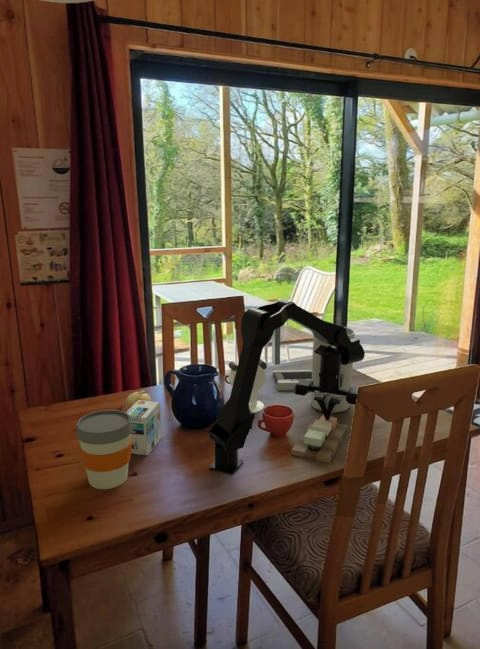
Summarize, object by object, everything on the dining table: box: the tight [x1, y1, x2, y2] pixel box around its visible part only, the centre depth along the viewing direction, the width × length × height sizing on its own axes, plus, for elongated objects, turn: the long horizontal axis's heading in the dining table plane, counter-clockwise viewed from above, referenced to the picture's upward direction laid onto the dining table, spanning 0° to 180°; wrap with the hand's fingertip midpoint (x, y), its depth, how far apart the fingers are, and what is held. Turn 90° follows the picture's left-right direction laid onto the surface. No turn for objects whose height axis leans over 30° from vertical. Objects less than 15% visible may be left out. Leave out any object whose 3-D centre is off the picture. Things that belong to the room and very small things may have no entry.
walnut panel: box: [291, 418, 348, 464], centre depth 134 cm, size 20×10×2 cm, turn 155°
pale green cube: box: [304, 429, 326, 450], centre depth 128 cm, size 4×4×4 cm
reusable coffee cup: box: [76, 409, 133, 490], centre depth 115 cm, size 13×13×15 cm
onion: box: [124, 388, 153, 411], centre depth 152 cm, size 8×8×7 cm
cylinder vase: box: [310, 326, 356, 414], centre depth 155 cm, size 12×12×25 cm
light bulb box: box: [125, 400, 162, 456], centre depth 131 cm, size 11×7×11 cm, turn 168°
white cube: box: [311, 419, 332, 437], centre depth 133 cm, size 4×4×4 cm
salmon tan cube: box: [318, 414, 338, 431], centre depth 139 cm, size 4×4×4 cm
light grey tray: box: [272, 369, 312, 391], centre depth 178 cm, size 17×5×16 cm
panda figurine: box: [228, 358, 268, 414], centre depth 155 cm, size 12×11×15 cm
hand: (327, 419), depth 139 cm, fingers closed, pressing on salmon tan cube
